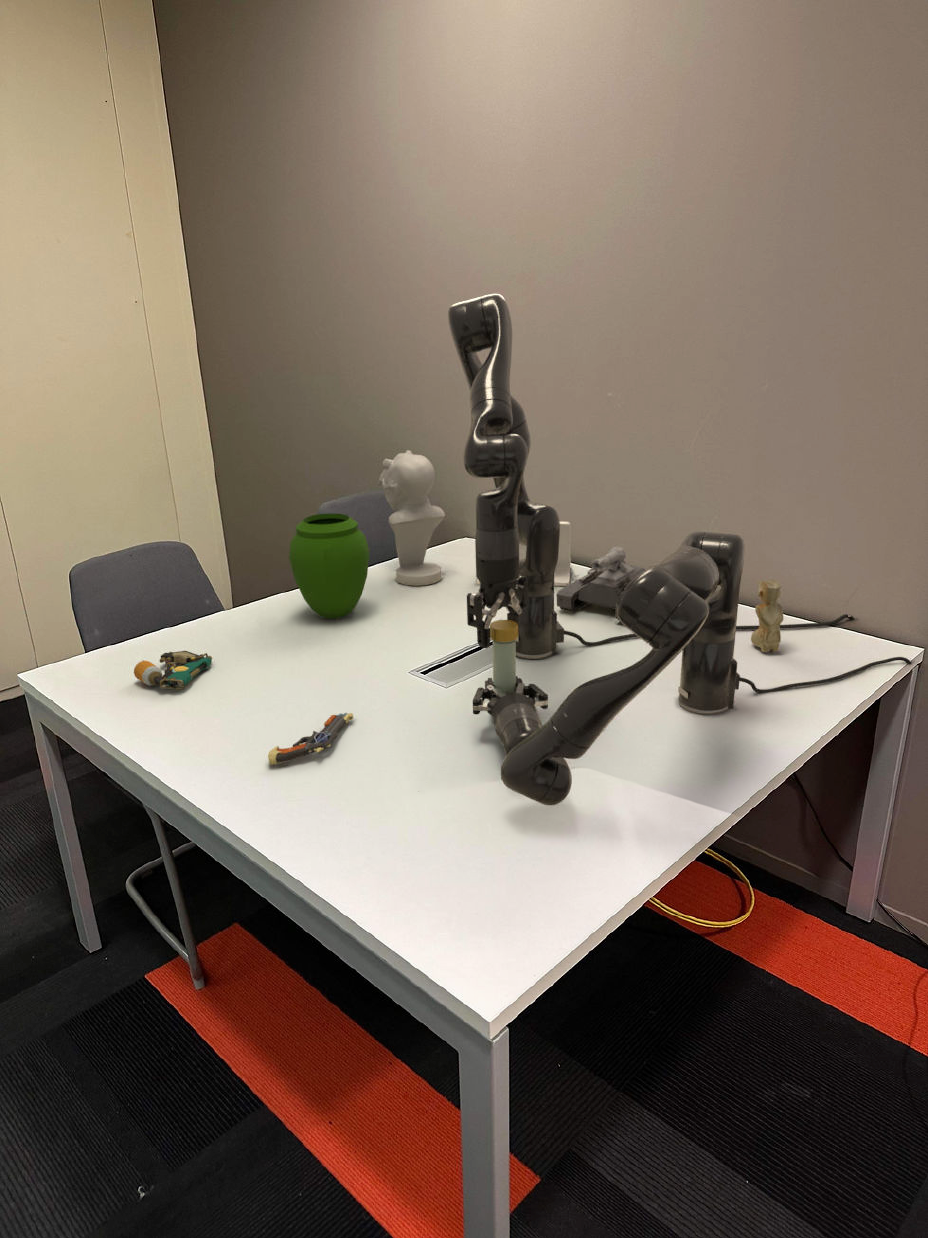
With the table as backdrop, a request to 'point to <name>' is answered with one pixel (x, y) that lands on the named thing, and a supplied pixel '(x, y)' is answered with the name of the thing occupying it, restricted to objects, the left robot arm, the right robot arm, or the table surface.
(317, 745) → the toy gun
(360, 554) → the vase
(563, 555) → the tablet stand
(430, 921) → the table surface
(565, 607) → the toy
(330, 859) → the table surface
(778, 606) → the sculpture
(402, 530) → the bust sculpture
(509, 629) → the lid
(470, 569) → the table surface
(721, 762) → the table surface
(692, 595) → the right robot arm
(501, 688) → the jar
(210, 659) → the spray gun
